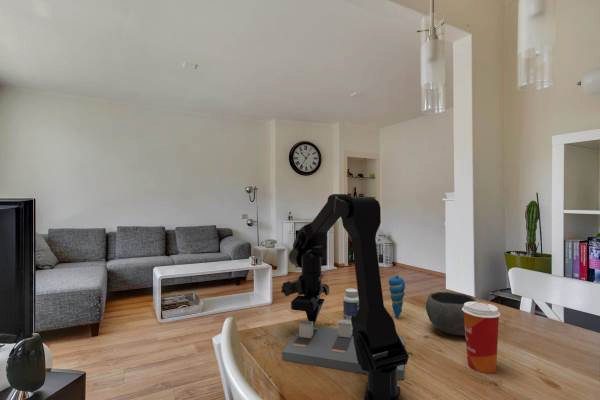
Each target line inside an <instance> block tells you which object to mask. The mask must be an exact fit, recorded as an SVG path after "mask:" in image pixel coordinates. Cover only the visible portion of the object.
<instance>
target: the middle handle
mask: <svg viewBox="0 0 600 400" xmlns="http://www.w3.org/2000/svg"><path fill="white" fill-rule="evenodd" d="M337 325H338V328H339V336H340V337H348V338H351V335H352V323H351V321H348V320H344V319H339V320H338V323H337Z"/></svg>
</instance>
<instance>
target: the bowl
mask: <svg viewBox="0 0 600 400" xmlns="http://www.w3.org/2000/svg"><path fill="white" fill-rule="evenodd" d="M466 302H478V303H479V301H478V300H477V299H476V298H474V297H473V296H472V295H468V294H466V293H465V294H464V293H460V292H459V293H458V292H450V291H436V292H433V293H430V294H428V297H427V299H426V302H425V310H426V315H427V317H428V319H429V321H430V323H432V325H433V326H435V327H436V328H437V329H438V330H440V331H441V332H444V333H447V334H450V335H455V336H465V324H464V311H462V308H463V307H464V303H466Z"/></svg>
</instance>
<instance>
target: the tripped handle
mask: <svg viewBox="0 0 600 400" xmlns="http://www.w3.org/2000/svg"><path fill="white" fill-rule="evenodd" d="M298 326H299V327H298V329H299V331H298V332H299V337H304V338H311V337H312V336H313V321H308V320H304V319H301V320H300V322H298Z"/></svg>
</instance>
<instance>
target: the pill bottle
mask: <svg viewBox="0 0 600 400" xmlns="http://www.w3.org/2000/svg"><path fill="white" fill-rule="evenodd" d="M344 294H345V295H344V297H343V301H342V303H343V320H348V321H351V318H352V315H357V312H358V310H359V298H358V289H357V288H346V289H345V293H344Z"/></svg>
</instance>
